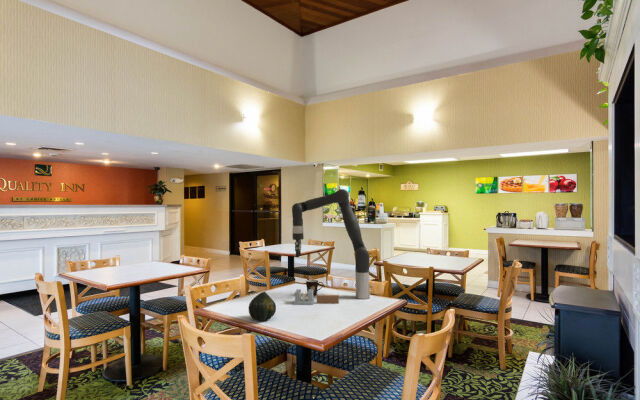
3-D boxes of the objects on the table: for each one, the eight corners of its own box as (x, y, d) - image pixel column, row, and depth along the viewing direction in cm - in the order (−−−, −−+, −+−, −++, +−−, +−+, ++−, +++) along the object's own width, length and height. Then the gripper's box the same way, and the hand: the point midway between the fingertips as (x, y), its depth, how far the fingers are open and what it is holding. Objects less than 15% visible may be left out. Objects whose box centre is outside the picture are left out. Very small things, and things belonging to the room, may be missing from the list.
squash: (251, 315, 184) (268, 290, 190) (239, 309, 196) (255, 286, 202) (270, 329, 189) (285, 305, 196) (257, 323, 201) (272, 300, 208)
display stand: (314, 300, 233) (314, 288, 233) (313, 304, 223) (313, 292, 223) (295, 300, 233) (295, 288, 234) (294, 304, 223) (294, 292, 224)
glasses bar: (338, 302, 229) (338, 294, 229) (338, 303, 226) (338, 295, 226) (316, 302, 229) (316, 294, 229) (316, 303, 226) (316, 295, 226)
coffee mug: (304, 296, 245) (304, 281, 246) (308, 293, 254) (308, 279, 254) (320, 297, 242) (320, 282, 242) (324, 294, 250) (323, 280, 251)
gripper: (302, 233, 235) (302, 257, 235) (304, 231, 249) (304, 255, 249) (291, 233, 236) (291, 257, 235) (293, 231, 250) (294, 255, 249)
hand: (298, 256), depth 242 cm, fingers open, 8 cm apart
